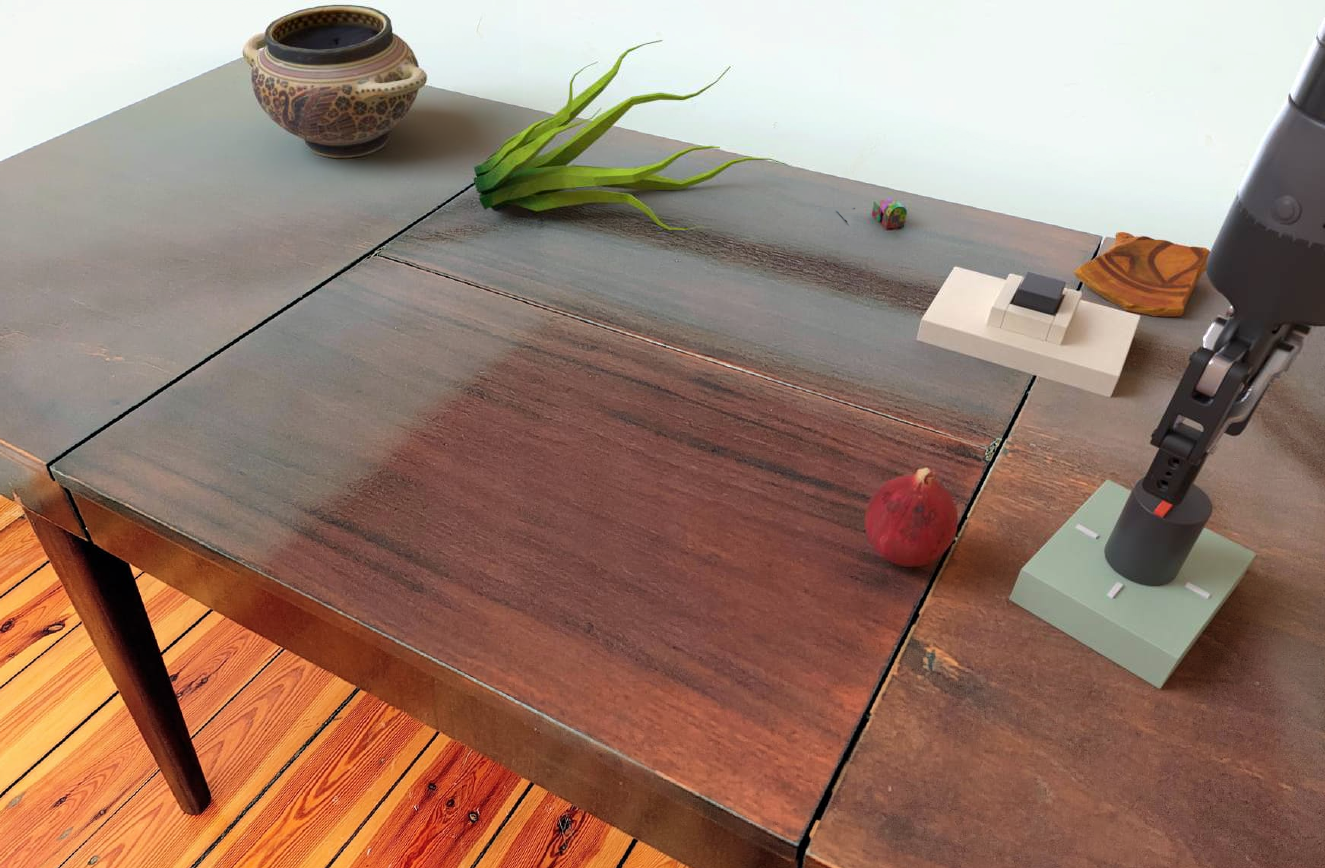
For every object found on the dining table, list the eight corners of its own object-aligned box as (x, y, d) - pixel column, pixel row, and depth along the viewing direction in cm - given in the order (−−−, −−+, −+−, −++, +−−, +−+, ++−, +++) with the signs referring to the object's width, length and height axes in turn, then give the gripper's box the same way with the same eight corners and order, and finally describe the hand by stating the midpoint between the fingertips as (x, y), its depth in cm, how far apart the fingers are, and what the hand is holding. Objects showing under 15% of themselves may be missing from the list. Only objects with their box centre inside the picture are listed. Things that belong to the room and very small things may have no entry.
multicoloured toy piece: (912, 225, 103) (917, 204, 102) (886, 229, 103) (890, 207, 101) (893, 206, 106) (897, 185, 105) (867, 209, 106) (871, 188, 104)
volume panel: (1093, 509, 73) (1108, 477, 71) (1237, 584, 68) (1258, 551, 66) (1008, 599, 67) (1022, 566, 65) (1159, 689, 62) (1180, 657, 60)
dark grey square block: (1021, 289, 88) (1027, 271, 87) (1060, 299, 87) (1066, 281, 86) (1012, 306, 86) (1018, 288, 85) (1051, 317, 85) (1058, 299, 84)
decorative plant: (756, 265, 98) (774, 115, 88) (466, 220, 104) (452, 75, 94) (785, 181, 111) (805, 41, 101) (525, 145, 117) (519, 10, 107)
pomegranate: (937, 601, 67) (967, 514, 62) (849, 578, 69) (871, 491, 63) (947, 541, 71) (976, 454, 66) (864, 520, 73) (885, 434, 67)
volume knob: (1122, 525, 68) (1154, 459, 64) (1189, 560, 66) (1227, 494, 62) (1091, 560, 66) (1122, 494, 62) (1159, 597, 63) (1197, 531, 59)
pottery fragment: (1218, 247, 94) (1202, 278, 87) (1198, 294, 97) (1181, 328, 90) (1104, 219, 99) (1080, 247, 92) (1087, 265, 101) (1063, 295, 94)
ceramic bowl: (238, 155, 122) (178, 38, 109) (341, 72, 129) (295, -46, 116) (385, 217, 111) (335, 95, 99) (488, 123, 118) (454, -2, 106)
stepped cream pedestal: (949, 286, 95) (959, 248, 92) (1132, 336, 89) (1148, 297, 86) (915, 340, 89) (926, 300, 86) (1110, 398, 83) (1127, 357, 80)
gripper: (1365, 290, 43) (1208, 556, 54) (1459, 181, 51) (1304, 435, 62) (1185, 227, 47) (1073, 487, 58) (1297, 134, 55) (1179, 380, 65)
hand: (1192, 460), depth 60 cm, fingers open, 8 cm apart
